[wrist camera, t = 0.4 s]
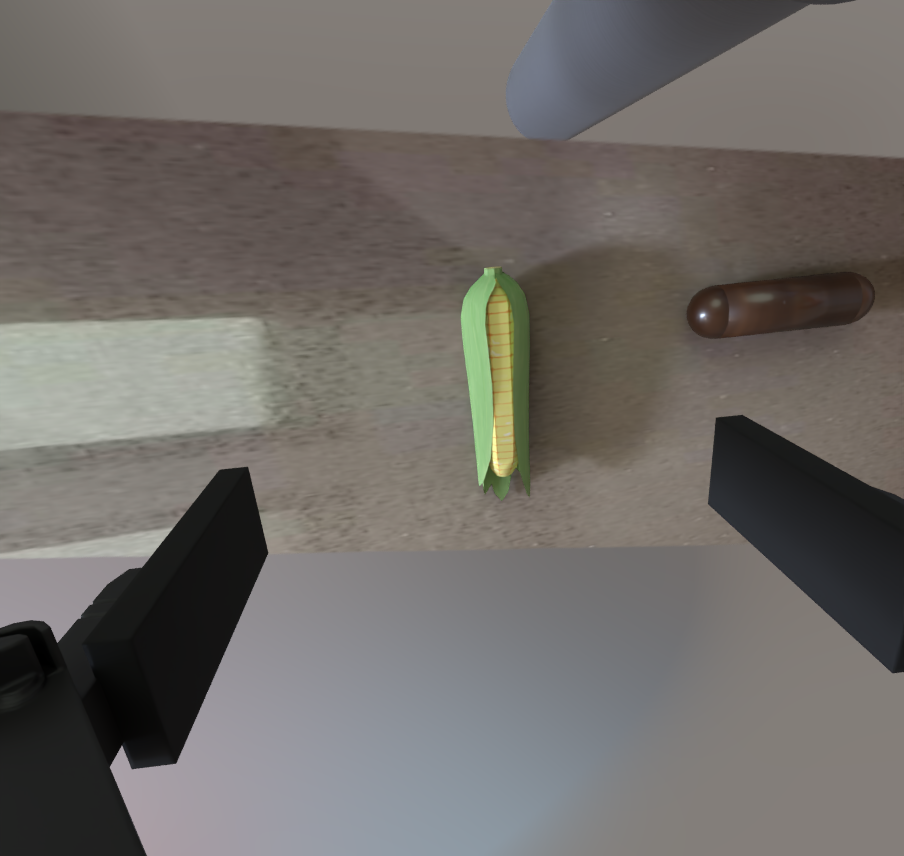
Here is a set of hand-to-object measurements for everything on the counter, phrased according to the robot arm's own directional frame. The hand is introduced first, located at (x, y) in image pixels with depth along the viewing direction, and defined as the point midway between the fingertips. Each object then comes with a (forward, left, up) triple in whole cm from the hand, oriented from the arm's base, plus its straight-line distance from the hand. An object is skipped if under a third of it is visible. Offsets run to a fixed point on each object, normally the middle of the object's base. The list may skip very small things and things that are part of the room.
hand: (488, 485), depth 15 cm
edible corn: (+6, +4, -29) cm, 30 cm away
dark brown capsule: (+1, +26, -29) cm, 39 cm away
